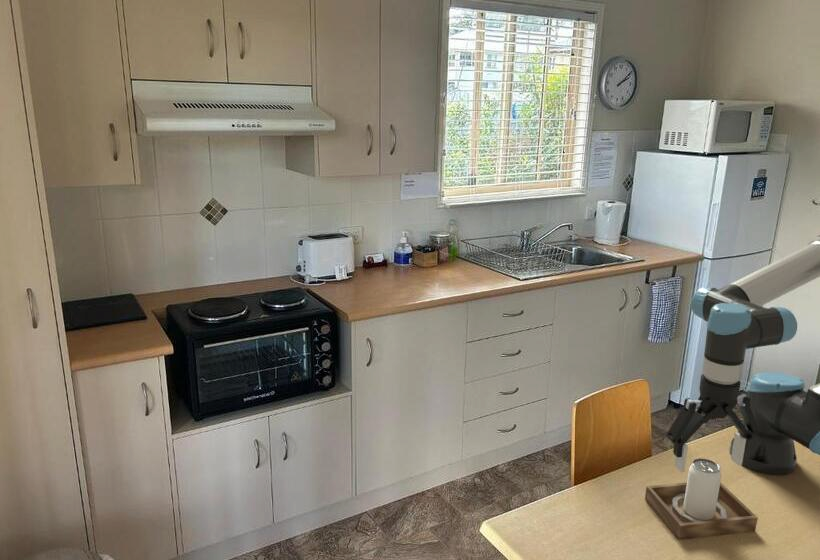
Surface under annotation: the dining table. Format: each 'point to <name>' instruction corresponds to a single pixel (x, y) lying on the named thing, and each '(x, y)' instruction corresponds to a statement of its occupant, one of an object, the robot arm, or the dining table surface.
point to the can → (702, 489)
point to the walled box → (671, 510)
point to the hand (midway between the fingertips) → (708, 465)
